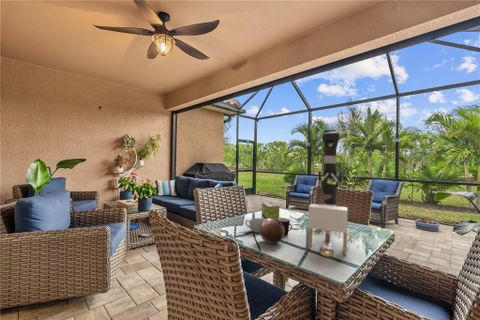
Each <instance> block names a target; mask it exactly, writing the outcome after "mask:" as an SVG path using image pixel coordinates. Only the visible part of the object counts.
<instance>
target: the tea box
mask: <svg viewBox="0 0 480 320" xmlns="http://www.w3.org/2000/svg"><path fill="white" fill-rule="evenodd" d="M268 218H276V219H278V218H280V205H278V204H276V203H274V202H273V201H270V202H267V201H266V202H261V219H264V220H266V219H268Z"/></svg>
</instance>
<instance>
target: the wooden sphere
mask: <svg viewBox="0 0 480 320" xmlns="http://www.w3.org/2000/svg"><path fill="white" fill-rule="evenodd" d="M284 233H285V230H284V226H283V224H282V223H281V222H280V221H279V220H278V219H276V218H268V219H266V220H264V221H263V222H262V223H261V225H260V233H259V235H260V237H261V238H262V240H263V241H264V242H266V243H268V244H271V245H274V244H277V243H279V242H280V241H282V240H283V238H284V237H285V236H284Z"/></svg>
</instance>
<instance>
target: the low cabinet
mask: <svg viewBox="0 0 480 320" xmlns="http://www.w3.org/2000/svg"><path fill="white" fill-rule="evenodd" d="M313 229H314V230H321V231H322V230H323V231H326V230H328V231H330V232H336V233H337V232H338V233H343V236H342V237H343V239H342V240H343V241H342V242H343V243H342V251H343V255H344V256H347V249H348V245H347V243H348V240H347V239H348V207H347V206H337V205H336V206H329V205H324V204H319V203H318V204H316V203H310V205H309V206H308V235H307V236H308V237H307V239H308V240H307V249H308V250H311V249H312V245H313Z"/></svg>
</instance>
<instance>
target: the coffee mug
mask: <svg viewBox="0 0 480 320" xmlns="http://www.w3.org/2000/svg"><path fill="white" fill-rule="evenodd" d="M278 220H279V221H280V222H281V223H282V224H283V226H284V230H285V233H284V237H287V236H289V232H290V231H292V229H293V226H292V224H291V219H290V218H287V217H286V218H285V217H279V218H278Z"/></svg>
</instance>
